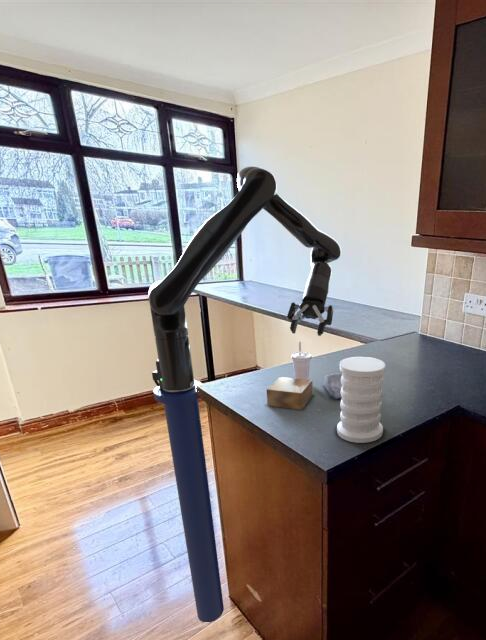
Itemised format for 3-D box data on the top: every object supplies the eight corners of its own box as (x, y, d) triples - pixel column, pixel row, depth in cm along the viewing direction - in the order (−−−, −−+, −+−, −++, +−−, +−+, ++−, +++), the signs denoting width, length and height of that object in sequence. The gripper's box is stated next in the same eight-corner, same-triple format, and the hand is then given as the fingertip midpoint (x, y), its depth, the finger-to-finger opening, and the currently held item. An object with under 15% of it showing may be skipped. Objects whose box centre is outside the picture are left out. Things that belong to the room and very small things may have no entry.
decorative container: (327, 428, 102) (328, 361, 96) (363, 416, 109) (365, 353, 103) (356, 448, 94) (358, 375, 88) (392, 433, 101) (397, 366, 95)
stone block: (350, 387, 133) (320, 384, 128) (353, 374, 131) (324, 370, 127) (361, 403, 122) (330, 401, 118) (365, 389, 121) (334, 386, 117)
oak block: (267, 405, 113) (266, 389, 111) (280, 392, 122) (280, 376, 121) (301, 409, 112) (301, 393, 110) (312, 395, 121) (312, 380, 119)
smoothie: (287, 384, 129) (286, 341, 123) (302, 378, 133) (301, 337, 128) (301, 389, 125) (300, 346, 120) (316, 383, 130) (316, 341, 125)
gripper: (292, 282, 132) (281, 325, 126) (335, 285, 130) (325, 329, 123) (298, 296, 139) (287, 337, 132) (339, 299, 137) (329, 341, 130)
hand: (305, 333), depth 128 cm, fingers open, 8 cm apart
